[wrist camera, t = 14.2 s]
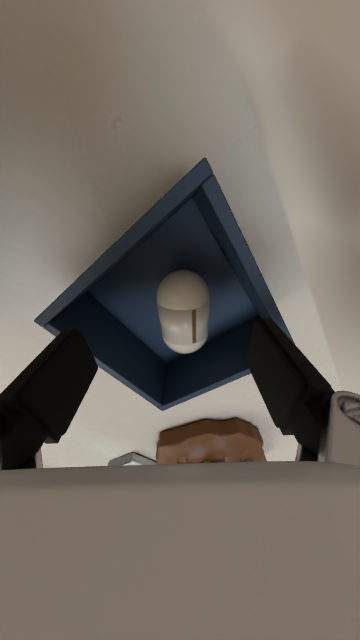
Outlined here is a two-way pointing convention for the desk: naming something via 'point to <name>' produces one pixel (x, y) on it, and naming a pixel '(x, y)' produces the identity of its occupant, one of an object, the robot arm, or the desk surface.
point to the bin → (141, 287)
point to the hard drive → (131, 460)
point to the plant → (211, 443)
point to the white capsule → (183, 310)
